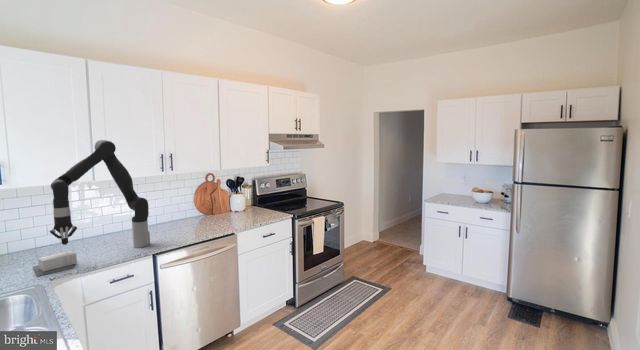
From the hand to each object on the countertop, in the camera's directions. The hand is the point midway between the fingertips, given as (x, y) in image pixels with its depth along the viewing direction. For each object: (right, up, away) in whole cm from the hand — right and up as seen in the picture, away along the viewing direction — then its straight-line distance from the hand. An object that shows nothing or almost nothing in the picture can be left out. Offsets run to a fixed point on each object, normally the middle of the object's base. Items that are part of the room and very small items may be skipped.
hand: (65, 244), depth 186 cm
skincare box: (+3, -8, +4) cm, 9 cm away
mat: (-4, -13, -3) cm, 14 cm away
